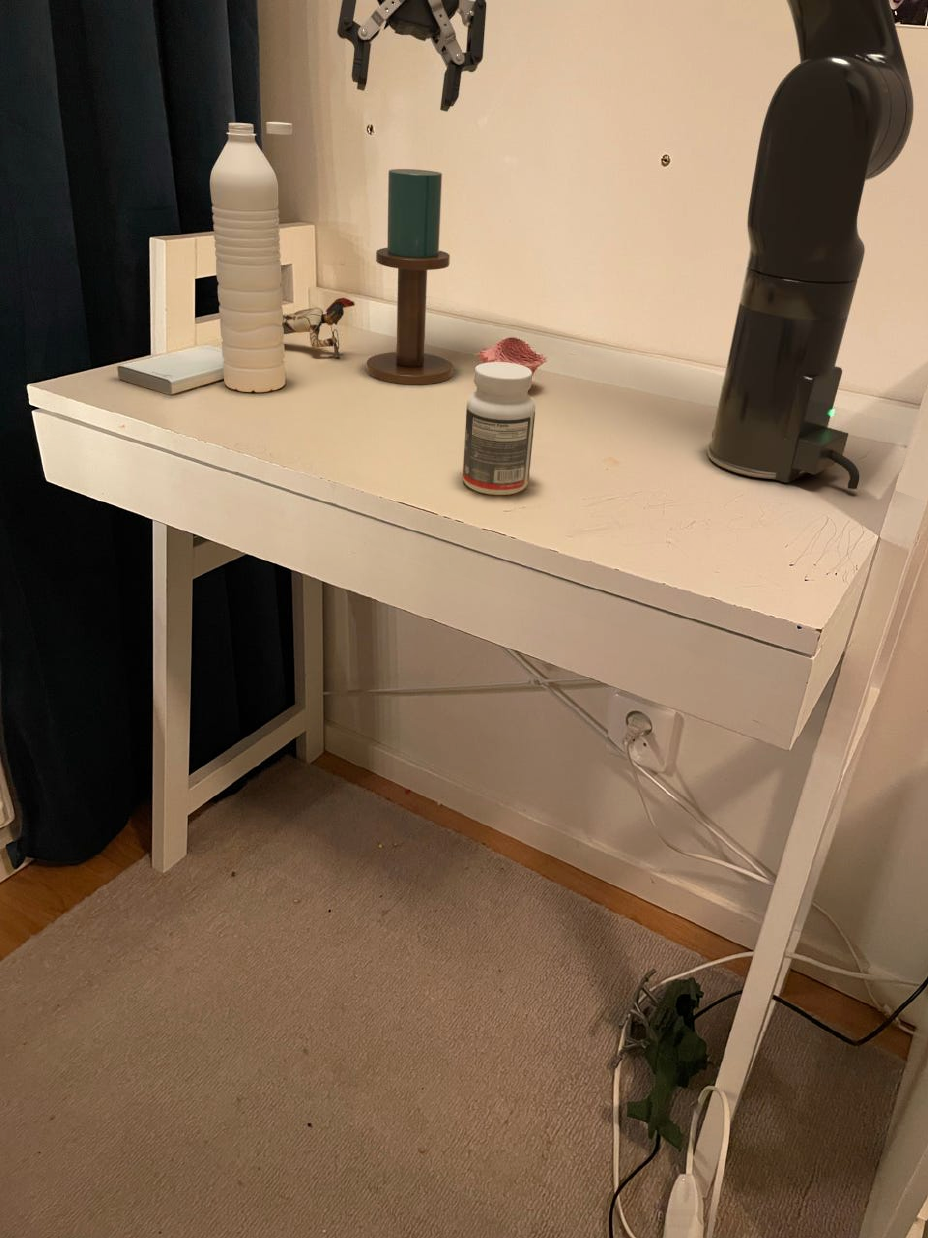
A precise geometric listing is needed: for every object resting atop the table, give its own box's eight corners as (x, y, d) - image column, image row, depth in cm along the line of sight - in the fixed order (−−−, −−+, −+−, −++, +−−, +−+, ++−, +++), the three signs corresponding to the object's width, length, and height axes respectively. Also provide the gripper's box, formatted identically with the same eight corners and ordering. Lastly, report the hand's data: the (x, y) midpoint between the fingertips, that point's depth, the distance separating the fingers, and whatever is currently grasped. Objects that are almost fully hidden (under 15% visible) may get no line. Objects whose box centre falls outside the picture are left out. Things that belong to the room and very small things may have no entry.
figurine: (251, 372, 115) (361, 355, 110) (234, 354, 112) (346, 336, 106) (258, 332, 117) (366, 313, 112) (241, 312, 113) (351, 292, 108)
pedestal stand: (470, 375, 108) (478, 256, 101) (407, 390, 102) (411, 265, 95) (411, 355, 114) (415, 242, 107) (348, 368, 107) (347, 249, 101)
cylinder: (449, 255, 101) (453, 174, 97) (411, 259, 98) (414, 175, 94) (414, 246, 104) (416, 168, 100) (376, 250, 101) (377, 169, 97)
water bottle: (245, 396, 96) (228, 124, 84) (212, 381, 100) (192, 118, 88) (314, 383, 102) (309, 125, 89) (281, 369, 106) (271, 120, 93)
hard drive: (171, 380, 94) (256, 356, 104) (116, 364, 98) (203, 342, 107) (172, 396, 95) (257, 370, 105) (118, 379, 99) (204, 356, 108)
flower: (558, 391, 105) (564, 341, 102) (509, 403, 100) (513, 351, 97) (508, 373, 109) (512, 325, 107) (459, 384, 104) (461, 334, 102)
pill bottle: (477, 466, 83) (484, 355, 78) (537, 479, 82) (548, 366, 76) (451, 488, 79) (458, 372, 74) (514, 502, 77) (525, 384, 72)
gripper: (357, -125, 85) (337, 64, 87) (505, -79, 88) (482, 100, 90) (347, -78, 92) (328, 95, 94) (484, -38, 96) (463, 128, 98)
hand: (404, 97), depth 92 cm, fingers open, 8 cm apart
